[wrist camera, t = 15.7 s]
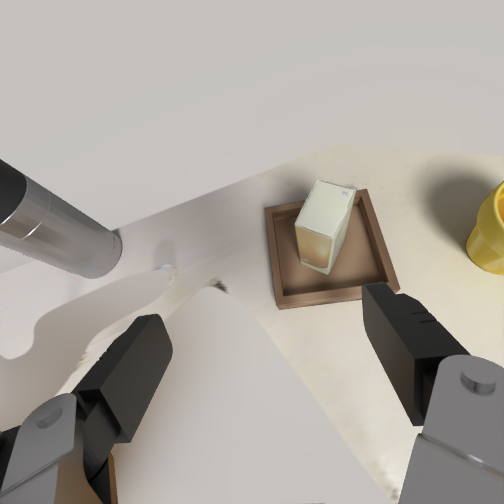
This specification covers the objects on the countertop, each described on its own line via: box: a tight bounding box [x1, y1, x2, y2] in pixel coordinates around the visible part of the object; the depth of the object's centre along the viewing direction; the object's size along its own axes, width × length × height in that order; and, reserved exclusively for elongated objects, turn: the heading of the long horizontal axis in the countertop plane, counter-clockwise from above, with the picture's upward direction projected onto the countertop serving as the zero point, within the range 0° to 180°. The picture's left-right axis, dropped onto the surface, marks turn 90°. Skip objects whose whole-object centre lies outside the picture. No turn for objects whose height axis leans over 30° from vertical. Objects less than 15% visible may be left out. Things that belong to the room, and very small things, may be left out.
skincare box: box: [295, 180, 356, 275], centre depth 31 cm, size 6×4×12 cm
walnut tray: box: [265, 189, 400, 310], centre depth 36 cm, size 15×15×3 cm
